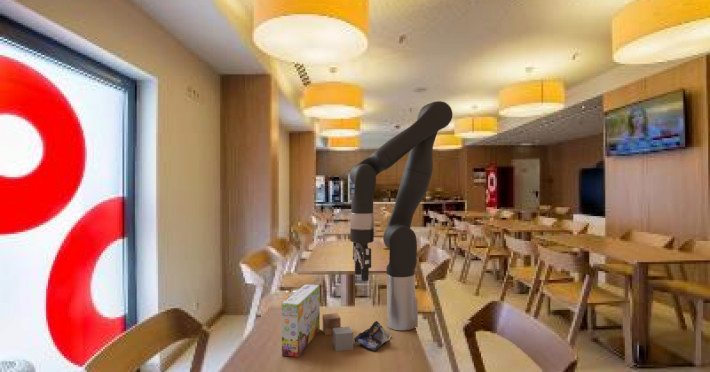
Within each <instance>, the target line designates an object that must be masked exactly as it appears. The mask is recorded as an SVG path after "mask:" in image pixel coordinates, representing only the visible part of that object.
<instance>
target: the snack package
mask: <svg viewBox="0 0 710 372" xmlns="http://www.w3.org/2000/svg"><path fill="white" fill-rule="evenodd" d="M391 337H392V335H391V333H389V332H388V331H387V330H386V329H385V328H384V326H383V325H381V323H380V322H379V321H377V320H375V321H374V322H373V323H372V324H371V326H369V328H367V329H365V330H364V331H363V332H360V333H359V334H358V335H356V336H355V337H353V342H354V343H358V344H360V345H363V347H364V349H366V350H367V351H373V352H377V351H378V349H379V348H380V347H381V346H382V345H383V344H384V343H386V342H388V341H389V340H390V339H391Z"/></svg>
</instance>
